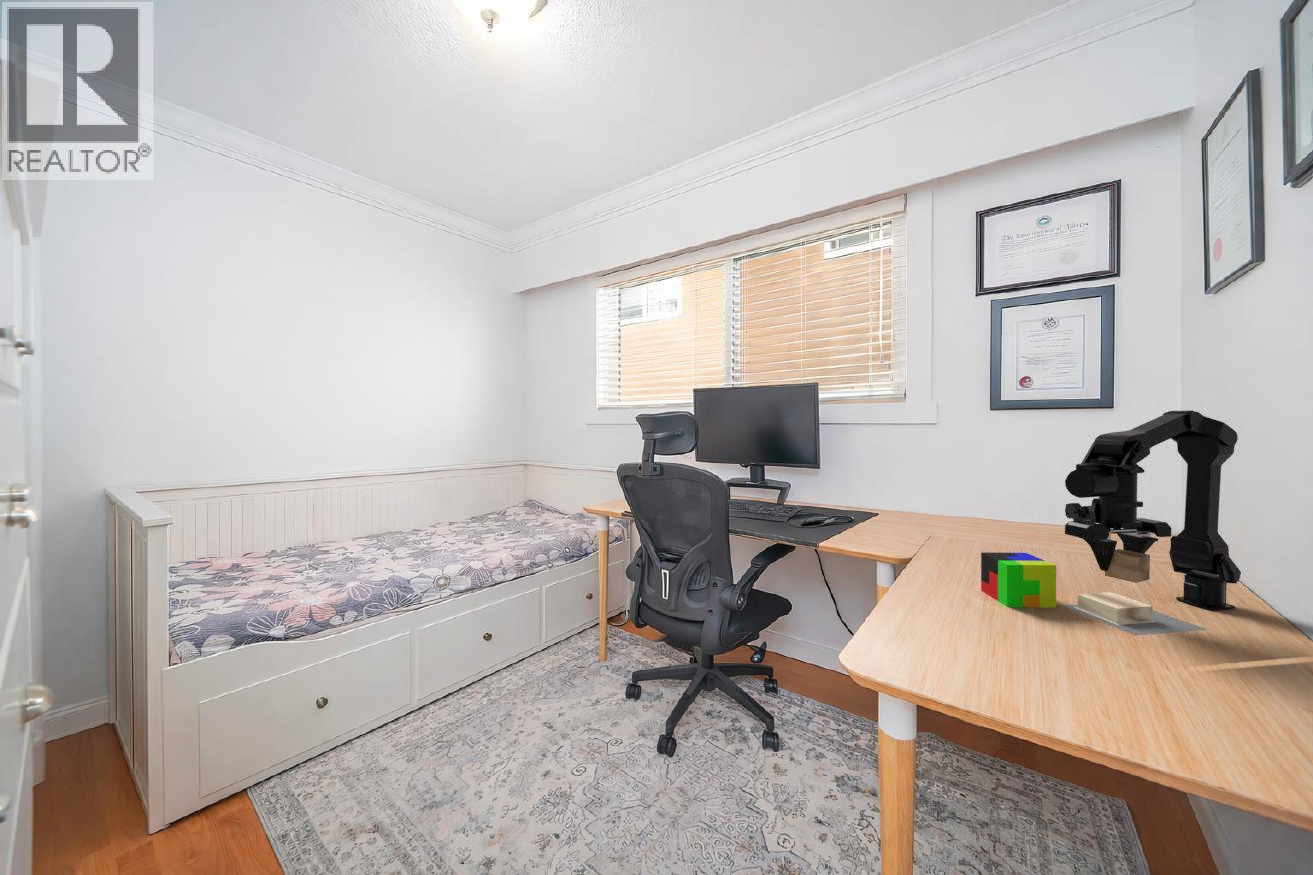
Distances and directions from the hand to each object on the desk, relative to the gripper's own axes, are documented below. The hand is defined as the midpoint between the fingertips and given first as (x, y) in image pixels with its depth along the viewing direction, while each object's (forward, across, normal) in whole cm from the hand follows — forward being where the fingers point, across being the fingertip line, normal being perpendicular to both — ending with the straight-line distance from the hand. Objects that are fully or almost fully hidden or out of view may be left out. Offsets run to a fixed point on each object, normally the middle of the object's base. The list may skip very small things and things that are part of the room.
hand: (1116, 569), depth 100 cm
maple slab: (+9, 0, 0) cm, 9 cm away
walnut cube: (+1, 0, +2) cm, 2 cm away
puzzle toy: (+10, +12, -11) cm, 20 cm away
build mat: (+10, -2, +1) cm, 10 cm away
